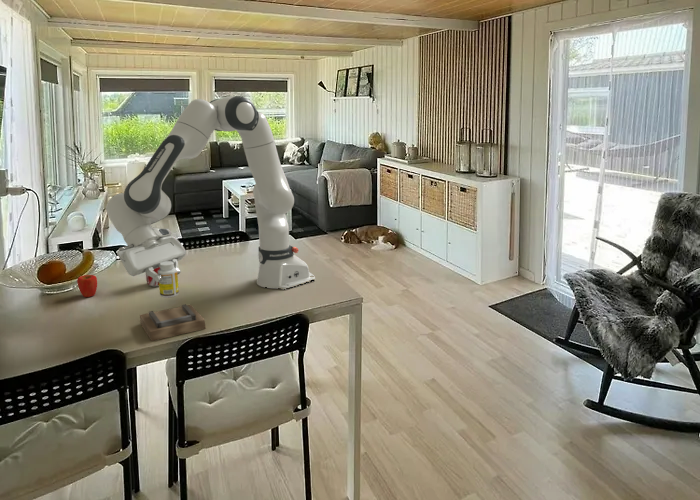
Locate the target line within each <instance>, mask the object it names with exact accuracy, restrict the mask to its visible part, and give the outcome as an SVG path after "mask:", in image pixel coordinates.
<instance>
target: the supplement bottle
mask: <svg viewBox="0 0 700 500" xmlns="http://www.w3.org/2000/svg"><path fill="white" fill-rule="evenodd" d="M158 274H161V276H162V277H163V279H162V281H159V286H158V288H159V295H160V297H161V298H174V297H176V296H178V295H179V294H180V288H179V279H178V278H179V277H178V275H179V274H178V275H177V269H176V268H175V267H174V263H173V262H172V261H165V262H162V263H160V269H159V270H158Z"/></svg>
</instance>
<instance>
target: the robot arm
mask: <svg viewBox="0 0 700 500" xmlns="http://www.w3.org/2000/svg"><path fill="white" fill-rule="evenodd" d="M214 131H217V132H231V133H232V132H235V131H236V132H237V133H238V135H239V137H240V138H241V143H242V146H243V151H244V155H245V157H246V161H247V165H248V169H249V170H250V173H251V175H252V177H253V180H254V182H255V184H254V185H253V189H252V195H253V198H254V206H255V213H256V218H257V219H256V220H257V224H258V226H257V227H258V238H259V239H258V241H259V242H258V243H259V244H258V245H259V246H258V255H257V256H258V262H259V267H258V268H259V269H258V274H257V279H256V284H257V285H258V286H259V287H262V288H265V287H267V288H266V289H278V288H283V289H282V290H284V289H285V290H287V289H286V288H289V287H292V286H295V285H298V284H301V283H304V282H306V281H309V280H312V279H315V280H316V277H315V275H314V274H313V273H312V272H310V268H309V265H308V264H307V263H306V261H304V260H303V259H301V258H300V257H299V256H297V255H296V254H298V252H299V248H298V247H296V246H293V245H290V226H289V223H288V219H287V215H286V214H287V213H289V212H290V211H291V210H292V209H293V207H294V204H295V196H294V194H293V192H292V190H291V187H290V185H289V182H288V179H287V177H286V174H285V171H284V169H283V166H282V164H281V161H280V157H279V154H278V149H277V147H276V146H277V145H276V141H275V138H274V135H273V134H274V133H273V131H272V128H271V125H270V124H269V122H268V119H267V117H266V115H265V114H263V113H262V112H260V111H258V110H257V108H256V106H255V105H254V103H253V102H252V101H251V100H250V99H249V98H247V97H244V96H239V95H236V96H224V97H222V98H218V99H213V100H210V101H208V100H206V99H203V98H197V99H196V98H195V99H192V100H191V101H190V102H189V103H188V105H187V106H186V107H185V108H184V110H183V111H182V112H181V114H180V115H179V116H178V118H177V120H176V122H175V123H174V126H173V127H172V129H171V131H170V132H169V134H168V135H167V136H166V137H165V139H163V141H162V142H161V143H160V145H159V146H158V147H157V149H156V150H155V151H154V154H152V156H151V158H150V159H149V161H148V162H147V163H146V165H145V166H144V167H143V169H142V171H141V172H140V173H139V174H138V175H137V176H135V177H134V178H133V179H132V180H131V181H129V182H128V183H127V185H126V186H125V189H124V192H121V193H117V194H115V195H113V196H112V197H111V198H110V199H109V200H108V202H107V204H106V205H105V211H106V215H107V216H108V219H109V221H111V223H112V225H113V227H114V228H115V229H116V231H117V232H118V233H120V234H121V236H122V238H123V241H124V242H125V243H126V245H125V246H121V247H119V248H118V250H117V252H116V254H117V256H118V258H119V259H120V261H121V263H122V265H123V267H124V269H125V271H126V272H127V274H128V275H129V276H132V277H135V276H139V275H141V274H143V273H144V274H145V275H146V274H147V275H148V276H150V277H152V278H154V279H155V281H156V282H159V281H162V279H163V277H162V276H161V274H157V273H156V272H154V271H153V270H154V269H156V268H159V267H160V263H162V262H165V261H172V262H173V263H174V267H175V268H176V269H177V275H180V274H181V273H182V271H181V269H180V267H179V262H178V261H181V260H182V259H184V257H185V256H186V255H187V252H186V249H185V247H184V246H183V244H182V243H181V242H180V240H179V239H178V238H177V237H176V236H173V233H172V231H171V230H170V229H169V228H161V227H152V225H153V224H155V223H157V222H159V221H162V220H164V219H165V218H166V217H168V215H169V214H170V213H171V210H172V201H171V198H170V197H169V196H168V195H167V193H165V192H164V191H163V190H162V186H163V183H164V182H165V179H166V178H167V176H168V175H169V173H170V172H171V171H172V169H173V167H174V165H175V164H176V163H177V162H179V161H180V160H182V159H183V160H192V159H195V158H197V157H199V155H200V154H201V153H202V152H203V150H204V149H205V148H206V146H207V144H208V142H209V140H210V138H211V136H212V133H213V132H214ZM294 253H295V254H294ZM145 272H146V273H145ZM310 276H314V277H310Z"/></svg>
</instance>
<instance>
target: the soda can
mask: <svg viewBox="0 0 700 500" xmlns="http://www.w3.org/2000/svg"><path fill="white" fill-rule="evenodd" d="M159 269H160V267H159V268H156V269H154V270H153V271H154V272H156V273H157V274H158V270H159ZM144 274H145V280H146V284H147V285H148V286H150V287H153V288H157V287H158V288H159V282H156V281H155V279H154V278H152V277H150V276H148V275H147V274H146V272H144Z"/></svg>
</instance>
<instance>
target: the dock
mask: <svg viewBox="0 0 700 500" xmlns="http://www.w3.org/2000/svg"><path fill="white" fill-rule="evenodd" d="M139 320H140V321H139V322H140V325H141V327H142V328H143V330H144V332H145V333H146V335H147V336H148V339H149V340H150V342H154V341H158V340H163V339H167V338H171V337H176V336H180V335H185V334H189V333H193V332H196V331H197V332H198V331H201V330H205V329H206V320H205V318H204V317H203V316H202V315H201V314H200V313H199V312H198V311H197V310H196V309H195V308H194V306H193V305H192V304H186V303H185V304H181V306H177V307H173V308H169V309H167V308H166V309H163V310H159V311H157V310H156V311H153V310H151V311H150V310H149V311H148V313H143V314H139Z"/></svg>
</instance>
